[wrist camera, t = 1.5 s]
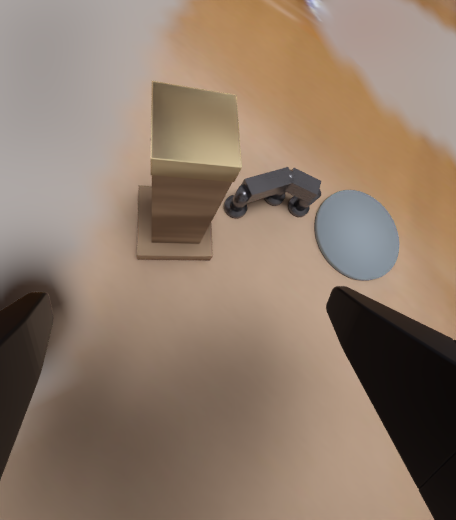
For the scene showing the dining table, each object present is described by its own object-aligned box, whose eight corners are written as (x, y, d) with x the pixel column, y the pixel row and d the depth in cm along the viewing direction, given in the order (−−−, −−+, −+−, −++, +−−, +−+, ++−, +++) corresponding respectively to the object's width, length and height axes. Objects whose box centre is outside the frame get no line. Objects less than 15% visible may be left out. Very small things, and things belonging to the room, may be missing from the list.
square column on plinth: (209, 260, 23) (264, 190, 12) (137, 259, 22) (123, 178, 11) (207, 197, 25) (254, 81, 13) (139, 192, 23) (128, 58, 12)
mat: (396, 288, 27) (400, 288, 27) (311, 269, 25) (314, 268, 25) (394, 205, 30) (398, 202, 29) (317, 182, 28) (320, 179, 28)
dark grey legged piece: (305, 236, 26) (329, 220, 23) (222, 215, 24) (234, 194, 21) (308, 196, 27) (331, 175, 24) (229, 173, 26) (241, 147, 22)
